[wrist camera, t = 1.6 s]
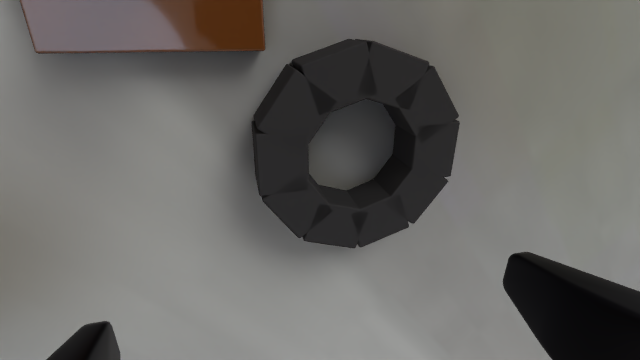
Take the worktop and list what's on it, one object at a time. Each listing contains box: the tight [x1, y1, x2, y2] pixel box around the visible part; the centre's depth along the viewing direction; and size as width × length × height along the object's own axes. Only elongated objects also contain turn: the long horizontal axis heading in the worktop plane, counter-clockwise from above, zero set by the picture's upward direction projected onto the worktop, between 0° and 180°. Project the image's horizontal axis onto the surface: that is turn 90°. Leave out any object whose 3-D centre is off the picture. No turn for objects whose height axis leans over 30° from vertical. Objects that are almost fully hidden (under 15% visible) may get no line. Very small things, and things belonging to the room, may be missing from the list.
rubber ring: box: [252, 39, 459, 248], centre depth 17 cm, size 9×10×2 cm
